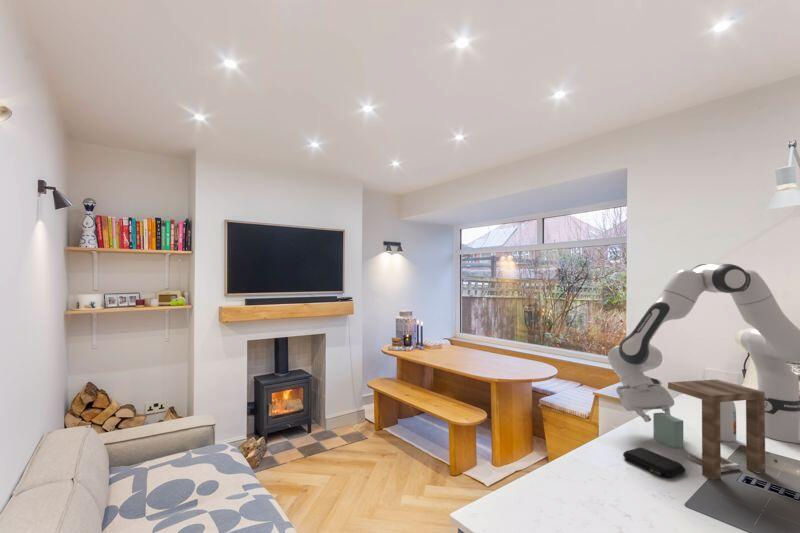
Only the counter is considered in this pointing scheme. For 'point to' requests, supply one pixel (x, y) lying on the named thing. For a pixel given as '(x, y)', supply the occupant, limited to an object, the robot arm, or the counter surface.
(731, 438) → the milk bottle
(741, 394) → the walnut overhang shelf
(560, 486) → the counter surface
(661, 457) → the carrying case or bag
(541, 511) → the counter surface
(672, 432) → the sage rectangular block
